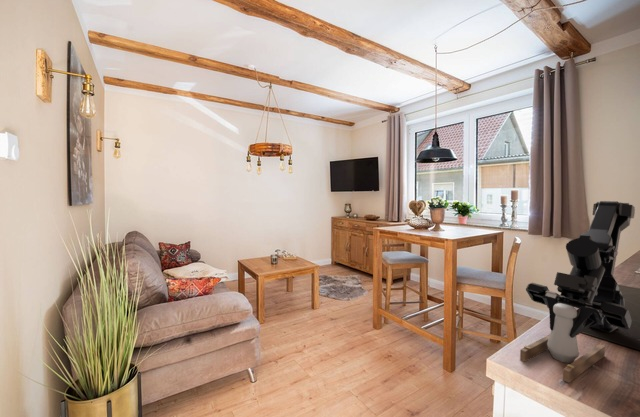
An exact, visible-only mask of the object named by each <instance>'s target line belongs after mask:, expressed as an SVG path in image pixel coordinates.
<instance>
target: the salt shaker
mask: <svg viewBox="0 0 640 417" xmlns="http://www.w3.org/2000/svg"><path fill="white" fill-rule="evenodd" d="M553 311H554V313H555V314H556V316H555V319H554V326H553V330H551V329H550V333H549V334H550V336H549V339H548V343H547V345H548V349H547V350H549V352H550V355H551V356H552V358H553V359H554V360H557V361H559V362H561V363H565V364H571V363H573V362H574V361H576V360H577V359H578V357H579V355H580V352H579V350H580V349H579V347H578V346H579V345H578V338H577V335H576V336H575V337H573V338H571V337H570V332H571V329H572V327H573V325H574V323H575V321H574V319H575V318H576V319H577V318H578V312H577V308H576V307H573V306H570V305H567V304H562V303H558V304H555V305H554V307H553Z"/></svg>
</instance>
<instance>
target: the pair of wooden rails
mask: <svg viewBox="0 0 640 417" xmlns="http://www.w3.org/2000/svg"><path fill="white" fill-rule="evenodd" d="M549 336H550V333H548V335H546V336H544V337H542V338H540V339H538V340H536V341H534V342H533V343H530V344H529V345H525V346H523V348H520V353H519V361H522V362H527V361H529V360H531V359H532V358H534V357H536V356H538V355H539V354H541V353H543V352H545V351H546V350H549V349H548V345H547V343H548V339H549ZM605 352H606V346H605V345H603V344H597V345H596V346H595V347H593V348H592V349H590V350H588V351H587V352H585V354H583V355H581V356H580V357H579V358H576V359H575V360H574V361H573V362H572V363H567V365H566V366H565V367H564V368H563V369H562V381H564V382H566V383H571V382H572V381H574V379H576V378H578V377H579V376H580V375H581V374H583V373H584V372H586V371H587V370H588V369H589V368H591V367H592V366H593V365H594V364H596V363H598V361H600V360H601V359H603V358H604V357H605Z"/></svg>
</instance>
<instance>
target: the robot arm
mask: <svg viewBox="0 0 640 417" xmlns="http://www.w3.org/2000/svg"><path fill="white" fill-rule="evenodd" d="M635 208H636V207H635V206H634V204H630V203H629V202H619V201H615V200H613V201H610V200H600V201H596V203H593V206H592V215H591V216H593V218H592V219H591V220H592V221H591V224H590V225H589V228H588V230H587V231H585V232H584V233H580V235H579V236H578V238H574V239H571V240H569V241H568V242H566V245H565V249H566V253H567V256H568V260H569V263H570V265H571V266H572V268H571V270H570V272H569V273H564V272H559V271H557V272H556V275H555V279H554V283H553V285H554V286H557V288H556V290H557V292H558V293H557V292H554V291H551V290H550V289H549V287H548V286H547V285H543V284H539V283H535V282H530V283H528V284H527V285H526V288H525V291H526V293H527V295H528V296H529V298H530V300H531V301H532V302H535V303H538V304H540V305H545V306H546V307H547V308H548V311H549V329H550V331H551V330H553V326H554V319H555V316H556V314H555V313H554V311H553V307H554V305H555V304H558V303H561V304H567V305H570V306H573V307H574V308H575V309H579V314H578V315H577V317H576V320H575V321H574V325H573V327H572V329H571V332H570V337H571V338H573V337H575V336H576V337H577V336H578V335H579V334H581V333H582V332H584V331H586V330H588V329H589V328H592V329H596V330H599V331H602V332H605V333H608V334H610V333H612V332H613V331H615V330H617V329H618V328H620V329H623V330H630V328H631V325H632V321H633V319H632V317H631V313H630V311H629V309H628V308H627V306H625V297H624V296H623V293H622V291H621V290H620V287H619V286H620V285H618V282H617V280H616V279H615V277H614V272H615V268H616V261H617V256H618V254H619V252H618V250H619V244H620V243H619V242H620V238H621V233H622V231H623V232H624V230H625V229H627V228H628V227H629V226H630V224H631V220H632V219H634V218H635V214H636V212H635V211H636V209H635ZM559 293H560V294H559Z"/></svg>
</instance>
